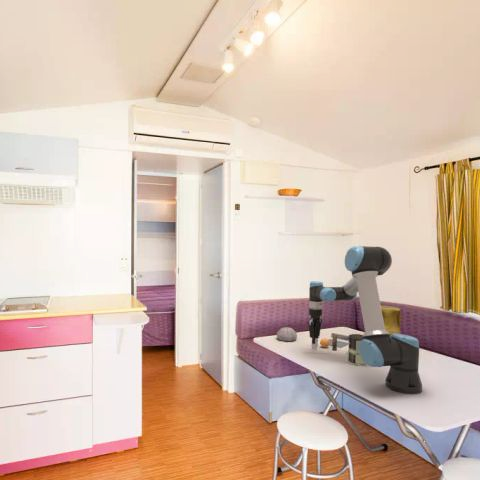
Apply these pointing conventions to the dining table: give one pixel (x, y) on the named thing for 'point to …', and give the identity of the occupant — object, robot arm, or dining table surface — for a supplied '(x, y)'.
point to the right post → (334, 342)
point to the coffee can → (355, 350)
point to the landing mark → (338, 343)
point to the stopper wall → (341, 336)
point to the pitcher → (391, 319)
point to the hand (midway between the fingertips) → (314, 349)
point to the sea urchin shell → (286, 334)
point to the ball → (324, 342)
